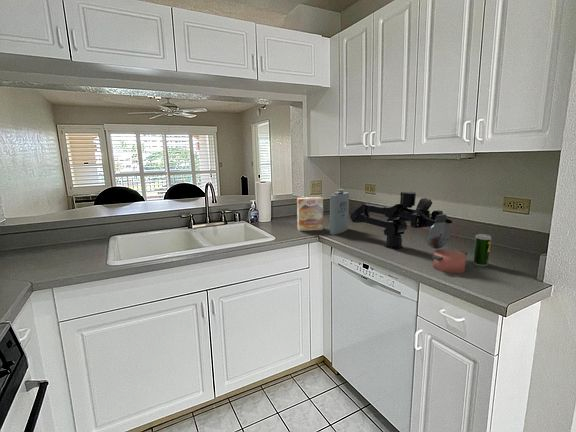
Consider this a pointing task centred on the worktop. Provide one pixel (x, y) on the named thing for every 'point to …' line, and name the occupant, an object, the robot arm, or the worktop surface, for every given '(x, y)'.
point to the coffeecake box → (310, 213)
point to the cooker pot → (449, 260)
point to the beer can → (482, 249)
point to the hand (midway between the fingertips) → (445, 222)
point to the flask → (339, 212)
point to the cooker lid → (438, 232)
